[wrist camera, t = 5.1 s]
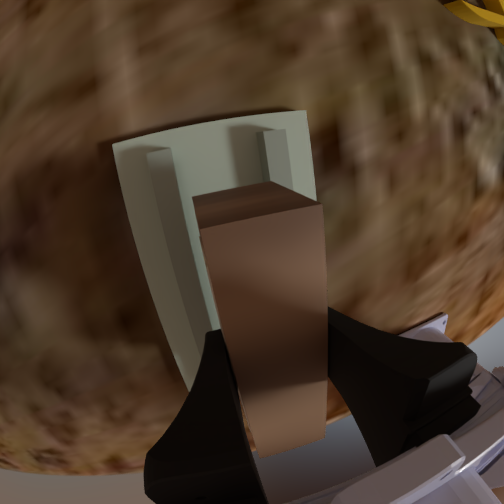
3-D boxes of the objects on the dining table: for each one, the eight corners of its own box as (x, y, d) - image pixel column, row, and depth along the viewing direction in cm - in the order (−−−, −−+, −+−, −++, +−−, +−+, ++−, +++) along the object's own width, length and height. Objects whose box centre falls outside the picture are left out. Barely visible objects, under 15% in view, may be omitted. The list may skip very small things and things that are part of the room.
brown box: (294, 377, 18) (325, 437, 13) (238, 393, 17) (258, 458, 12) (272, 180, 13) (323, 203, 8) (190, 196, 12) (197, 229, 8)
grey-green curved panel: (318, 347, 24) (331, 366, 21) (187, 382, 22) (190, 405, 20) (299, 111, 17) (316, 107, 14) (115, 144, 15) (105, 144, 13)
